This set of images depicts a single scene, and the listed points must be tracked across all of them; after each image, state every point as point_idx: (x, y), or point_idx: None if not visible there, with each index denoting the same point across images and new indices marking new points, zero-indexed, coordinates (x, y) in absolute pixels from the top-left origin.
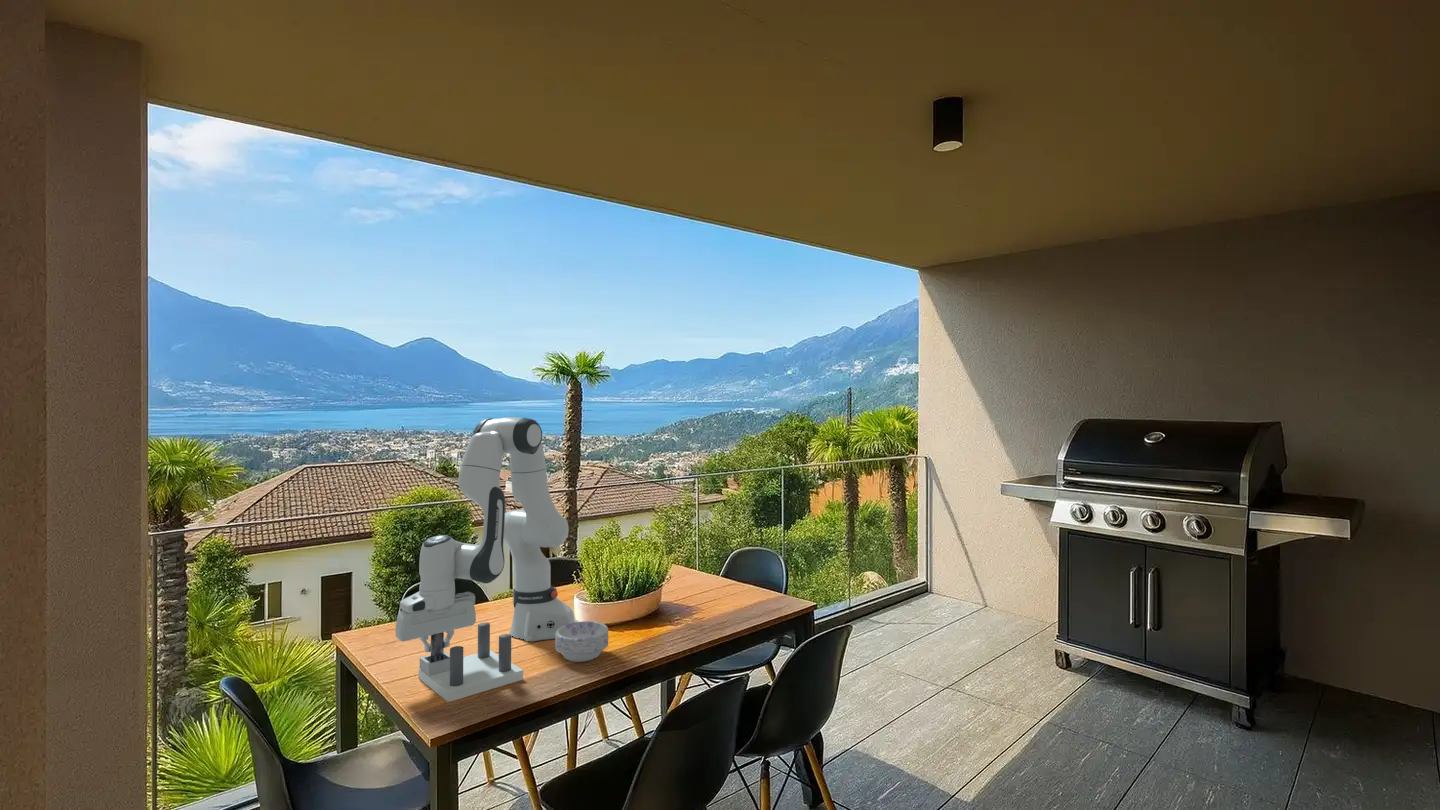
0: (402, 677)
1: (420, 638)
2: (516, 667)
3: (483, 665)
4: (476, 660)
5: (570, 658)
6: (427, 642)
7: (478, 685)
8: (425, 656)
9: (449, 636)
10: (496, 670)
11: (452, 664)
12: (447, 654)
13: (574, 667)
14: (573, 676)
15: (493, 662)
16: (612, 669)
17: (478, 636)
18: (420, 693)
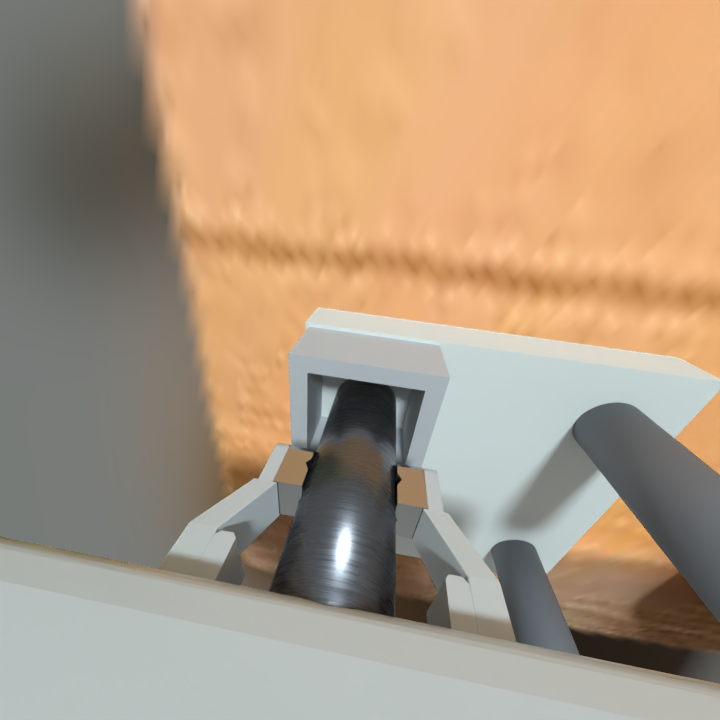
0: (266, 235)
1: (187, 533)
2: (548, 563)
3: (507, 490)
4: (541, 438)
5: None
6: (251, 542)
7: None
8: (322, 364)
9: (433, 582)
10: (494, 538)
11: None
12: (426, 429)
13: (674, 589)
14: (604, 605)
15: (554, 497)
16: (688, 637)
17: (677, 541)
18: (277, 425)
